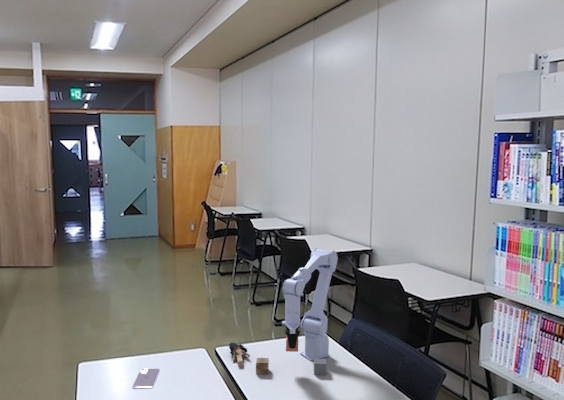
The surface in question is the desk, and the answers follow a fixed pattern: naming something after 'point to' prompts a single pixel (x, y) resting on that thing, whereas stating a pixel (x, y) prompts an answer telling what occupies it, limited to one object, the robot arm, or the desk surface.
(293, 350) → the red block
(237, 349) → the toy figure
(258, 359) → the walnut block
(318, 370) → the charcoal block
